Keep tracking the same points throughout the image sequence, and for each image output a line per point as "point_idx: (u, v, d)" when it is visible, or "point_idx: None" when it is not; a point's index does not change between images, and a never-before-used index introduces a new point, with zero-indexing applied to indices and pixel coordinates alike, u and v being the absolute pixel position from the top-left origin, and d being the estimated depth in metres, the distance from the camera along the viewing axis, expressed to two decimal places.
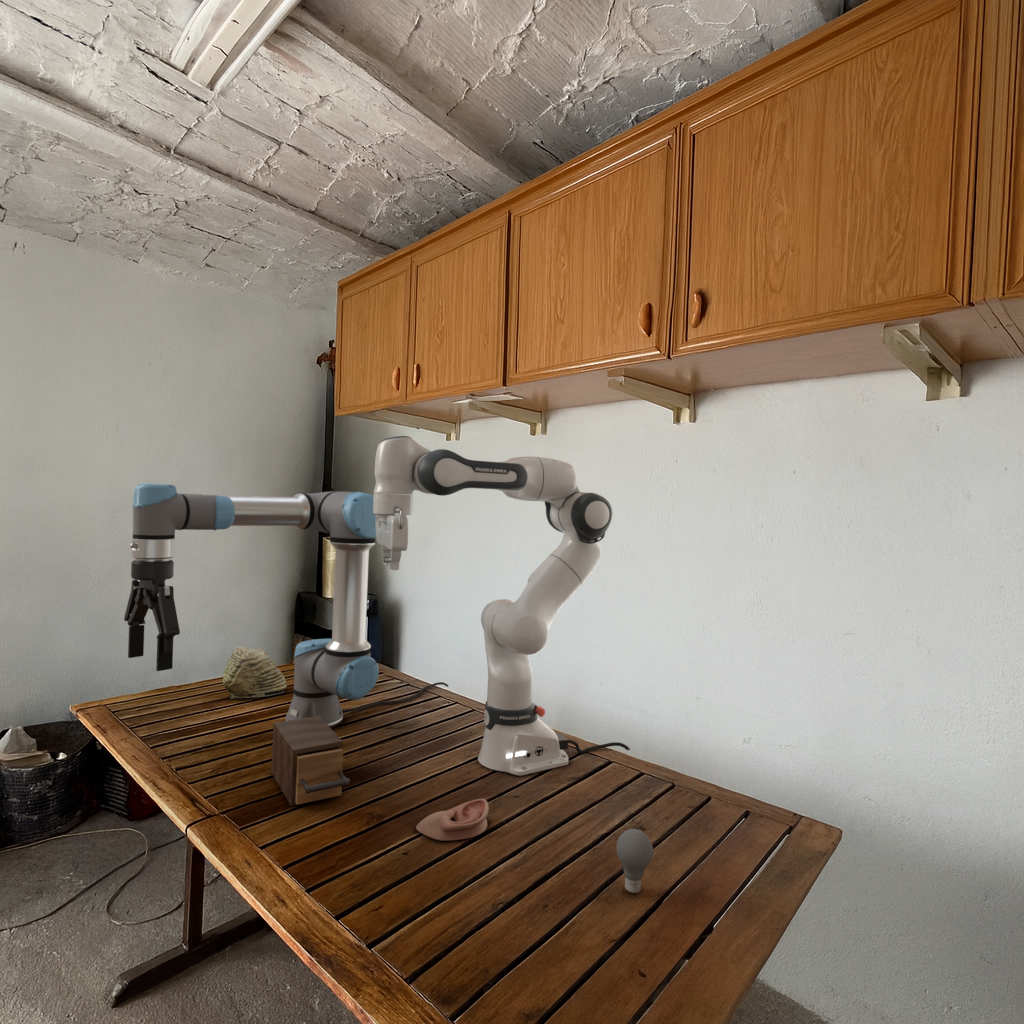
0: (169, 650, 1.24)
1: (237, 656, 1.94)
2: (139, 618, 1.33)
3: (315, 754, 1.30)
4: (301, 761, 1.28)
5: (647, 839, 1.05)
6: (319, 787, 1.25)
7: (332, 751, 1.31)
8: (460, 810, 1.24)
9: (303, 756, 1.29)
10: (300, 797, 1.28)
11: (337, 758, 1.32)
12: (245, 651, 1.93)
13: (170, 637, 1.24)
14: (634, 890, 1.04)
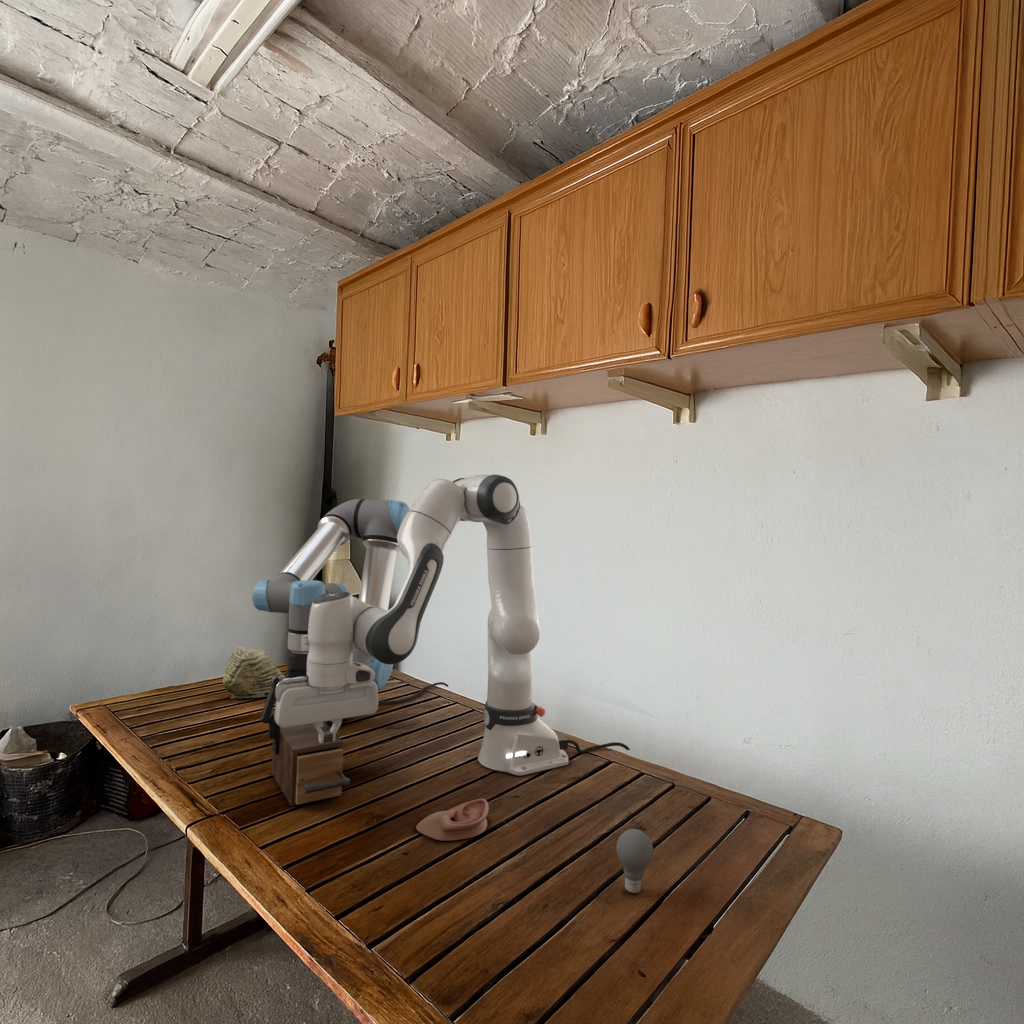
0: None
1: (237, 656, 1.94)
2: None
3: (315, 754, 1.30)
4: (301, 761, 1.28)
5: (647, 839, 1.05)
6: (319, 787, 1.25)
7: (332, 751, 1.31)
8: (460, 810, 1.24)
9: (303, 756, 1.29)
10: (300, 796, 1.28)
11: (337, 758, 1.32)
12: (245, 651, 1.93)
13: None
14: (634, 890, 1.04)
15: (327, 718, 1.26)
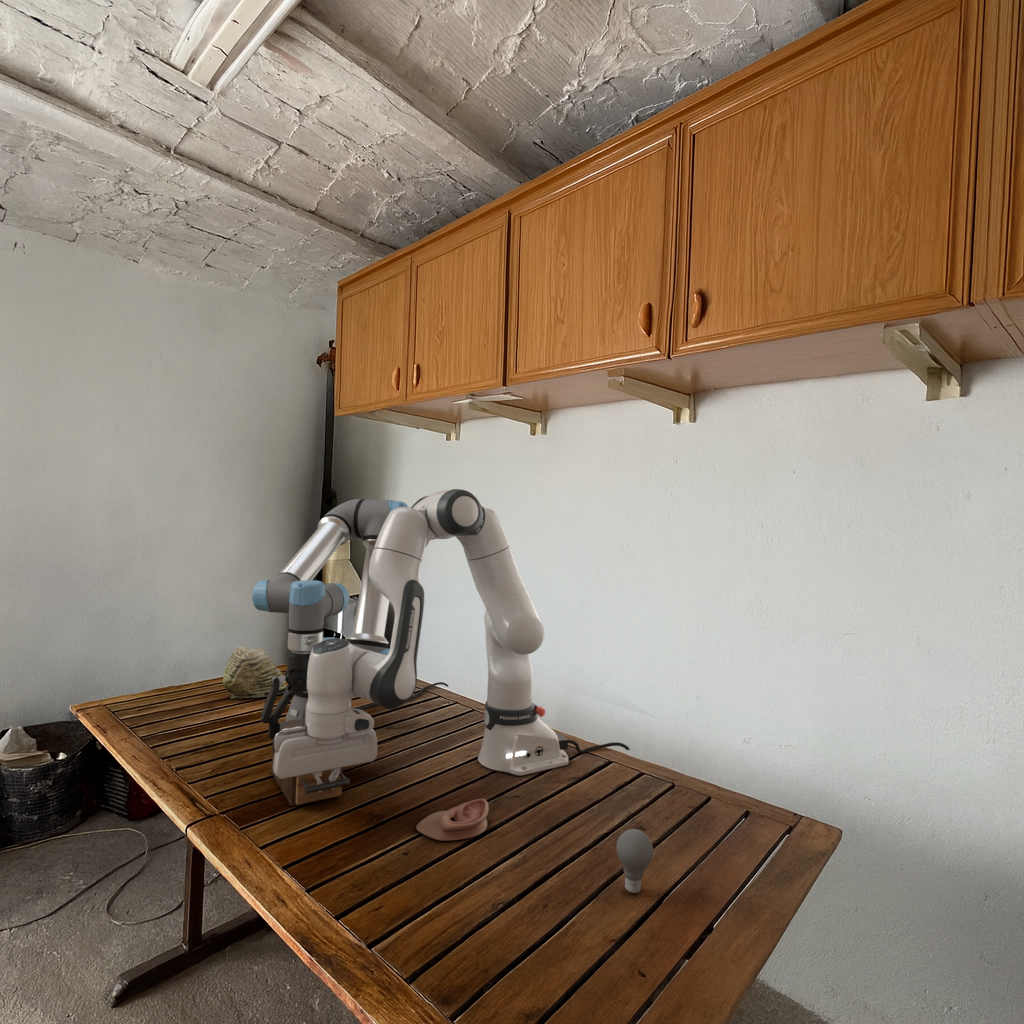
0: None
1: (237, 656, 1.94)
2: None
3: None
4: None
5: (647, 839, 1.05)
6: (319, 787, 1.25)
7: None
8: (460, 810, 1.24)
9: None
10: (300, 797, 1.28)
11: None
12: (245, 651, 1.93)
13: None
14: (634, 890, 1.04)
15: (326, 767, 1.25)
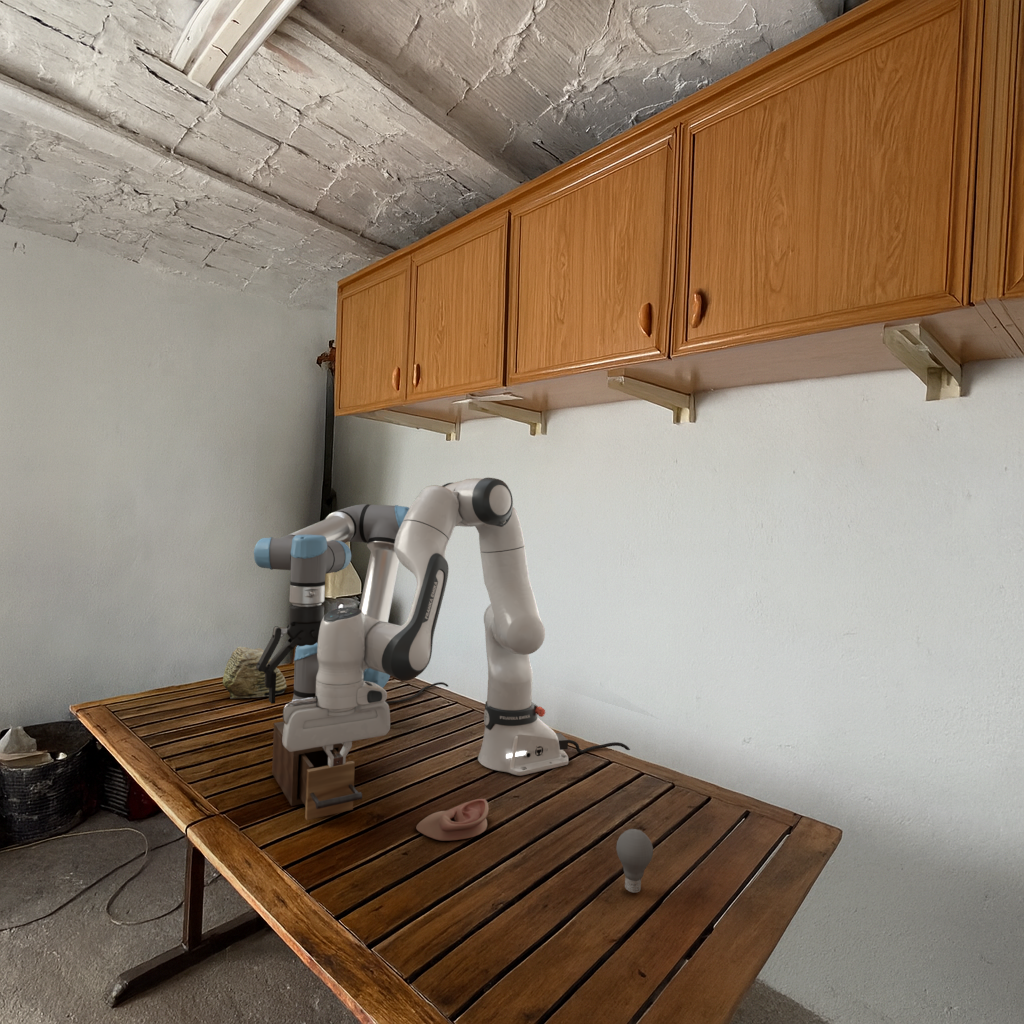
0: None
1: (237, 656, 1.94)
2: None
3: (326, 767, 1.24)
4: (311, 774, 1.22)
5: (647, 839, 1.05)
6: (330, 802, 1.19)
7: None
8: (460, 810, 1.24)
9: (313, 769, 1.23)
10: (310, 812, 1.22)
11: (348, 771, 1.26)
12: (245, 651, 1.93)
13: None
14: (634, 890, 1.04)
15: (337, 741, 1.20)
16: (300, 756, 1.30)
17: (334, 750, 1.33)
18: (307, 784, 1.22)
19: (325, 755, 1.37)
